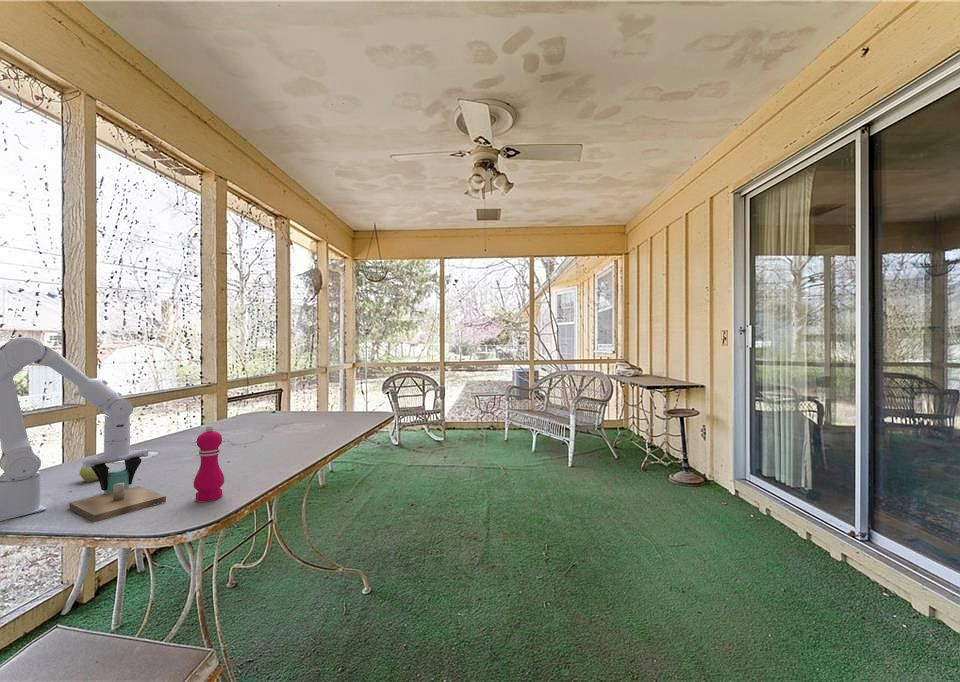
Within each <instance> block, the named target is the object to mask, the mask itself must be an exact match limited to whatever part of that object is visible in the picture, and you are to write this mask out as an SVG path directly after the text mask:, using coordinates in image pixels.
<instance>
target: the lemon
mask: <svg viewBox="0 0 960 682" xmlns="http://www.w3.org/2000/svg"><path fill="white" fill-rule="evenodd" d="M105 465H107V467H109V466H108V463H107V464H105ZM79 476H80V477H81V479H82V480H84V481H85V482H87V483H88V482H94V481H99V480H98V477H97V476H96V474H95V472H94V471H93V470H92V468H91V467H89V468H84V467H83V465H82V466H81V467H80V470H79Z"/></svg>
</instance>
